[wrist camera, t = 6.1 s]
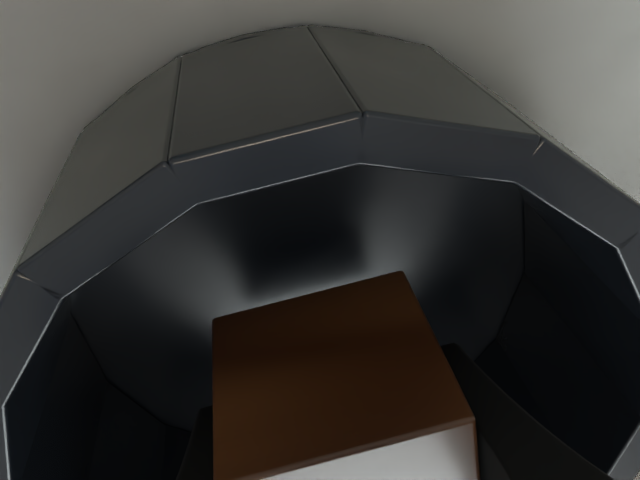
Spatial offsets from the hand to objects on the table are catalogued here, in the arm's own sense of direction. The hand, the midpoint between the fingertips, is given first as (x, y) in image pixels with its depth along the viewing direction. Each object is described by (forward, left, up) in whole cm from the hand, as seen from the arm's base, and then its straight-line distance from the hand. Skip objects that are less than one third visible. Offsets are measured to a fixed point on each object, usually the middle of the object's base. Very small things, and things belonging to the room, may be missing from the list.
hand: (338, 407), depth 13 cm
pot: (0, 0, -5) cm, 5 cm away
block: (0, 0, -1) cm, 1 cm away
